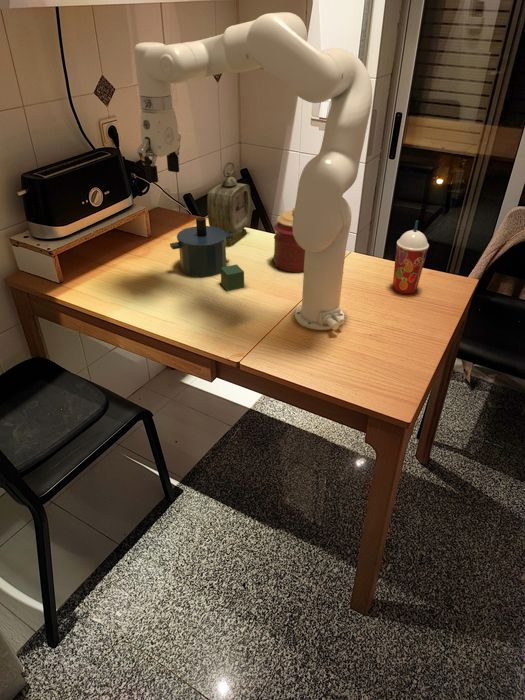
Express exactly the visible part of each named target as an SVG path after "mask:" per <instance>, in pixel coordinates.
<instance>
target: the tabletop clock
mask: <svg viewBox="0 0 525 700" xmlns="http://www.w3.org/2000/svg"><path fill="white" fill-rule="evenodd" d="M229 165H232V170H231V171H229V170H228V171H227V173H225V171H226V168H227V167H228V166H229ZM234 171H235V164H234V162H233V161H228V162H226V163H225V165H224V167H223V170H222V175H223V176H224V178H223V179H222V180H221V183H220V184H218V185H216V186H214V187H212V188H211V189H210V190H209V191H208V193H207V197H206V198H207V199H206V201H207V203H206V204H207V205H206V206H207V221H208V226H212V227H217V228H220V229H222V230H224V231H225V232H226V233H231V234H232V235H237V234H238V233H240V232H241V233H242V234H247V229H246V227H247V226H248V225H249V223H250V221H251V214H252V213H251V212H252V195H251V187H250V185H249V184H247V183H240V182H238V181H237V179H236V178H235V177H233V176H232V175H233V173H234ZM232 244H233V240H232V239H228V240H227V243H226V245H228V246H231V245H232Z"/></svg>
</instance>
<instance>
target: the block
mask: <svg viewBox="0 0 525 700" xmlns="http://www.w3.org/2000/svg"><path fill="white" fill-rule="evenodd" d="M220 282H221V285H222V286H223V287H224V288H225V289H226V291H228V292H229V291H230V292H231V291H234V290H239V289H243V288H245V271H244V270H243V269H242V268H241V267H240V266H239V265H238V264H232V265H228V266H227V265H226V267H222V268H221V273H220Z"/></svg>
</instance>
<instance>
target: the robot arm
mask: <svg viewBox="0 0 525 700" xmlns="http://www.w3.org/2000/svg"><path fill="white" fill-rule="evenodd" d="M134 59H135V68H136V77H137V78H136V79H137V87H138V95H139V96H138V97H139V105H140V139H141V143H140V145H139V146H138V148H137V150H136V151H137V154H138V157H139V159H140V162H141V163H142V166H144V173H145V180H146V182H148V183H155V184H156V183H158V182H159V176H158V166H157V165H156V162H157V159H158V157H159V158H163V157H165V156H166V164H167V171H168V172H173V173H179V172H180V159H179V156H180V148H181V139H182V135H181V134H180V133H179V127H178V119H177V115H176V112H175V108H174V105H173V95H172V84H175V85H177V84H183V83H187V82H190V81H194V80H199V79H202V78H208V77H211V76H216V75H221V74H226V73H230V72H234V73H235V74H238V73H245V72H248V71H252V70H257V69H261V68H262V69H263V70H264V71H266V72H267V73H268V74H269V75H270V76H272V77H273V78H274V79H275V80H277V81H278V82H279V83H281V84H282V85H283V86H284V87H286V88H287V89H288V90H289V91H291V92H292V93H293V94H294V95H296V96H297V97H299V98H300V99H301V100H303V101H305V102H308V103H311V104H321V103H324V102H326V101H329V100H330V107H329V111H328V114H327V117H326V119H325V124H324V132H323V137H322V140H321V146H320V149H319V152H318V154H317V155H315V156H314V157H312V158H311V159H309V161H308V162H307V163H306V164H305V166H304V168H303V169H302V171H301V173H300V177H299V180H298V186H297V190H296V191H297V192H296V199H295V203H294V208H295V210H294V217H293V226H292V228H293V235H294V238H295V240H296V242H297V243H298V245H299V246H300V247H301V248H303V249H304V250H305V260H304V271H303V277H302V293H301V294H302V295H301V296H302V297H301V305H299V306H298V307H297V308H296V310H295V312H294V318H295V321H296V322H297V323H298V324H300V325H301V326H303V327H304V328H307V329H310V330H314V331H328V330H333V331H337V330H338V329H339V328H340V326H341V325H343V324H345V313H344V311H343V310H342V308H341V307H340V303H341V295H342V286H343V277H344V266H345V258H346V251H347V243H348V239H349V234H350V230H351V224H352V209H351V206H350V204H349V202H348V201H347V200H346V199H345V198H344V197H343V196H344V194H345V193H346V192H347V191H348V190H349V189H350V188H351V187H353V185H354V183H355V182H356V180H357V177H358V173H359V168H360V162H361V157H362V154H363V153H362V152H363V149H364V144H365V138H366V133H367V129H368V124H369V119H370V116H371V110H372V103H373V86H372V85H373V84H372V80H371V77H370V74H369V71H368V68H367V67H366V65H365V64H364V63H363V62H362V60H360V59H361V58H359V57H358V56H357V55H355V54H354V53H353V52H351V51H349V50H348V49H344V48H341V47H331V48H326V49H323V50H318V49H316V47H315V46H313V45H312V44H311V43H309V42H308V30H307V26H306V24H305V23H304V21H303V19H302V18H301V17H300V16H299V15H297V14H295V13H292V12H288V11H287V12H286V11H285V12H284V11H283V12H282V11H281V12H269V13H264V14H262V15H260V16H258V17H257V18H256V19H254V20H250V21H247V22H246V21H245V22H241V23H237V24H234V25H230V26H228V27H227V28H225V30H224V33H221V34H218V35H215V36H210V37H206V38H202V39H198V40H194V41H186V42H177V43H172V44H165V43H163V42H155V41H145V42H138V43H137V44H136V45H135V47H134ZM150 157H151V158H150Z"/></svg>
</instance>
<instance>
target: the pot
mask: <svg viewBox="0 0 525 700" xmlns="http://www.w3.org/2000/svg"><path fill="white" fill-rule="evenodd" d="M226 234H227V238H226V240H227V241H228V239H230V240H233V239H234V234H231V233H226ZM226 240H225V241H224V242H222V243H220V244H217V245H214V246H208V247H192V246H187V245H184V244H181V243H180V242H179V241H176V242H170V243H169V247H170V248H171V250H178V252H179V262H180V268H181V271H182V272H183V273H184V274H185V275H186V274H187V275H189V276H192V277H199V278H200V277H201V278H205V277H212V276H217V275H218V274H221V268H222V267H227V247H226V245H227V244H226Z"/></svg>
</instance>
